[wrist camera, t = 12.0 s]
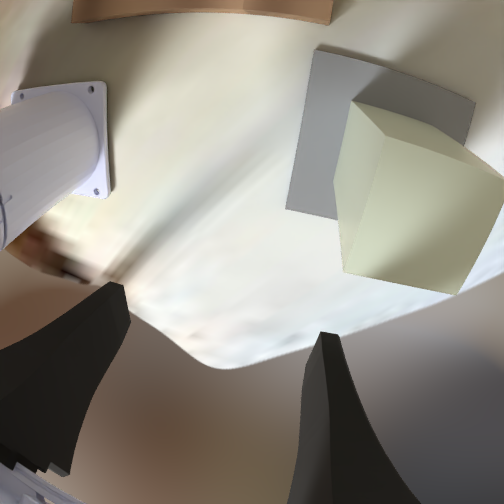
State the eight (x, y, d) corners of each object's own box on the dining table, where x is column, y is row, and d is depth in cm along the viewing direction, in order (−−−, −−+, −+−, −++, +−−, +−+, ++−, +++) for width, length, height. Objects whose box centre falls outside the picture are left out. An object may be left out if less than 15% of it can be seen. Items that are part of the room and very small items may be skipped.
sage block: (333, 180, 16) (343, 272, 10) (351, 100, 14) (385, 136, 7) (408, 199, 16) (456, 295, 9) (431, 125, 13) (511, 183, 7)
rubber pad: (285, 205, 18) (285, 208, 18) (314, 49, 13) (314, 49, 13) (425, 238, 17) (427, 242, 17) (472, 101, 12) (475, 102, 12)
